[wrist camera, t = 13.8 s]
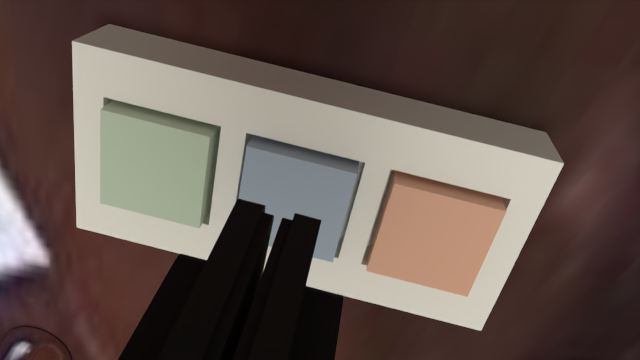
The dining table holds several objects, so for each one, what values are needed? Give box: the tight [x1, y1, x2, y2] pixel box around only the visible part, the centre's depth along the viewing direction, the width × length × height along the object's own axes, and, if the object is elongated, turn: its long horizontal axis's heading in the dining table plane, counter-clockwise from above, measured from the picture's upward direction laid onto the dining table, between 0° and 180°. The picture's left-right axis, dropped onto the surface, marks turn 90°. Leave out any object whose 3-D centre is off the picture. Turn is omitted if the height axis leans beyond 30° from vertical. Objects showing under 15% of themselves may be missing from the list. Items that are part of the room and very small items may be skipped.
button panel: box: [72, 24, 564, 331], centre depth 32 cm, size 12×26×4 cm, turn 78°
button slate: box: [238, 135, 359, 262], centre depth 31 cm, size 6×6×2 cm
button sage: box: [100, 100, 221, 228], centre depth 31 cm, size 6×6×2 cm
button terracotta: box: [366, 170, 506, 297], centre depth 31 cm, size 6×6×2 cm
